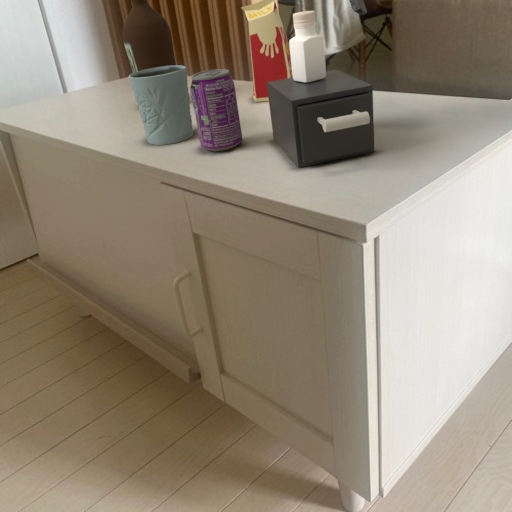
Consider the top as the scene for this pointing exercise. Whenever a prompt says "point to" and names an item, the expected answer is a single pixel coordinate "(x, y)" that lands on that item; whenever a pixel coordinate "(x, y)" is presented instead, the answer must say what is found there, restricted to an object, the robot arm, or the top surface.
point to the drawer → (335, 127)
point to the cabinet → (298, 93)
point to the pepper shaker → (307, 49)
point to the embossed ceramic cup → (163, 103)
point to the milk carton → (267, 47)
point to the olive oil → (147, 38)
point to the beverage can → (216, 109)
